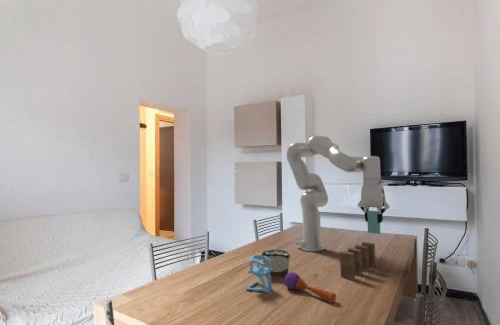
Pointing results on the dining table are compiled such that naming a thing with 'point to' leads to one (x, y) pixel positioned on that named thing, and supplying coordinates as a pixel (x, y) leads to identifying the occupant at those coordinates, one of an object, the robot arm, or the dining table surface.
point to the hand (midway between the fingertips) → (373, 221)
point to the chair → (260, 273)
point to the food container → (277, 262)
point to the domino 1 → (347, 265)
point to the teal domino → (373, 222)
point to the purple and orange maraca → (307, 287)
